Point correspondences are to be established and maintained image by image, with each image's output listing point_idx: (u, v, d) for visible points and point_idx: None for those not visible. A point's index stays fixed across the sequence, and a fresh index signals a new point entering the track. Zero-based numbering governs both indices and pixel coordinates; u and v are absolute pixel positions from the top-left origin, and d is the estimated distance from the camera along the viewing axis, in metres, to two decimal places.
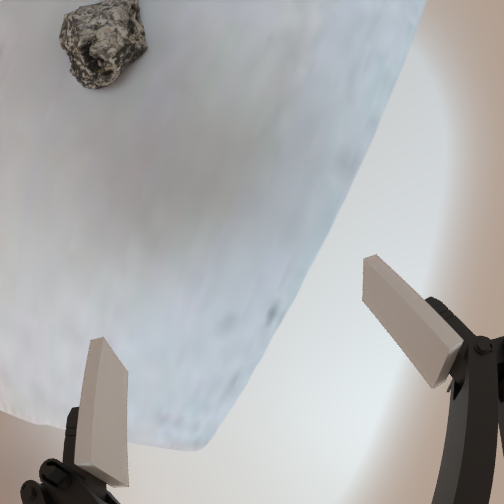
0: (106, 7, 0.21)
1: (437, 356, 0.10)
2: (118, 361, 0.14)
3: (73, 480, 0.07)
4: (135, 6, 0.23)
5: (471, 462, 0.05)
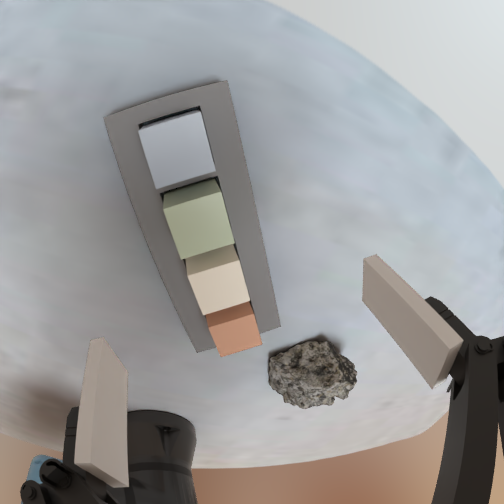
0: (296, 387, 0.38)
1: (437, 356, 0.10)
2: (118, 361, 0.14)
3: (73, 480, 0.07)
4: (293, 364, 0.38)
5: (471, 462, 0.05)
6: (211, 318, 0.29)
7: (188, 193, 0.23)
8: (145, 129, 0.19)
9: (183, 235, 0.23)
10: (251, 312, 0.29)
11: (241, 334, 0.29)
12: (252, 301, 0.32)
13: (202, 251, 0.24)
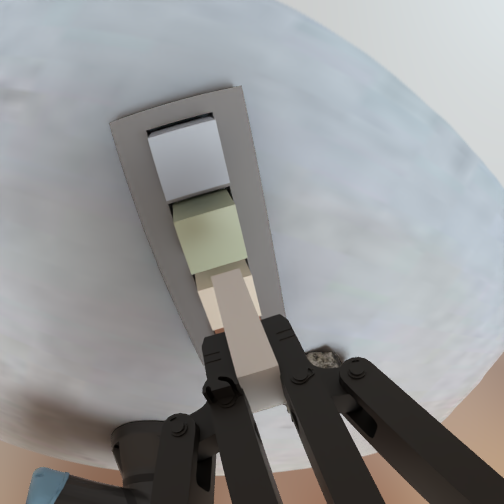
0: None
1: None
2: None
3: (238, 403, 0.09)
4: None
5: (345, 495, 0.06)
6: None
7: (199, 205, 0.22)
8: (155, 137, 0.18)
9: (194, 249, 0.22)
10: None
11: None
12: (261, 314, 0.31)
13: (214, 266, 0.23)
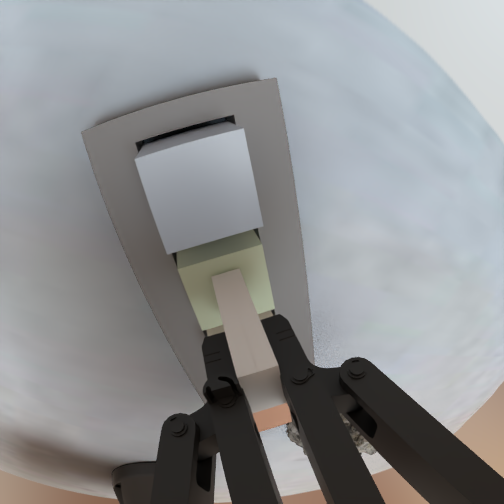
0: None
1: None
2: None
3: (238, 403, 0.09)
4: None
5: (345, 495, 0.06)
6: None
7: (212, 241, 0.17)
8: (147, 156, 0.11)
9: (206, 302, 0.17)
10: None
11: (276, 413, 0.22)
12: None
13: None
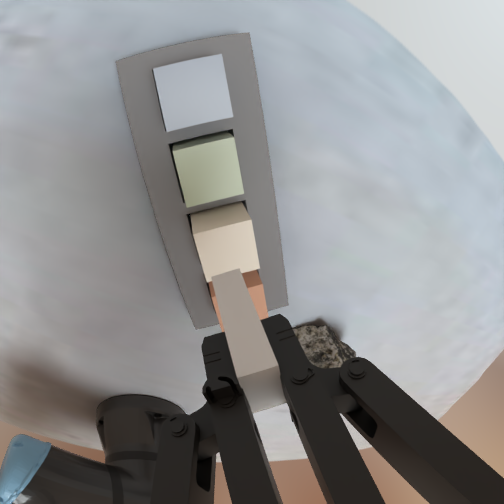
0: None
1: None
2: None
3: (238, 403, 0.09)
4: None
5: (345, 495, 0.06)
6: None
7: (199, 140, 0.22)
8: (161, 67, 0.16)
9: (191, 180, 0.22)
10: (260, 282, 0.26)
11: None
12: (260, 273, 0.29)
13: (209, 200, 0.23)
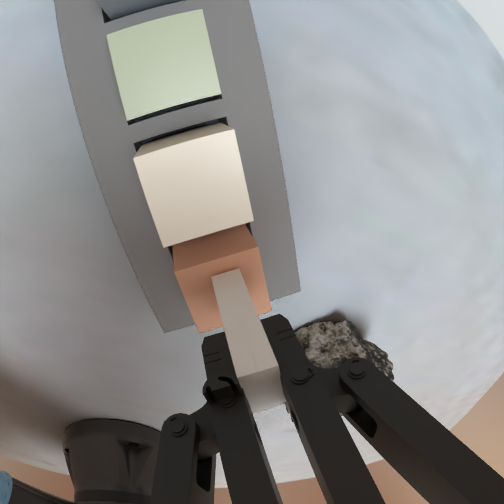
0: None
1: None
2: None
3: (237, 403, 0.09)
4: None
5: (345, 495, 0.06)
6: (181, 258, 0.16)
7: None
8: None
9: (134, 75, 0.11)
10: (253, 245, 0.16)
11: None
12: (255, 241, 0.19)
13: (164, 105, 0.12)
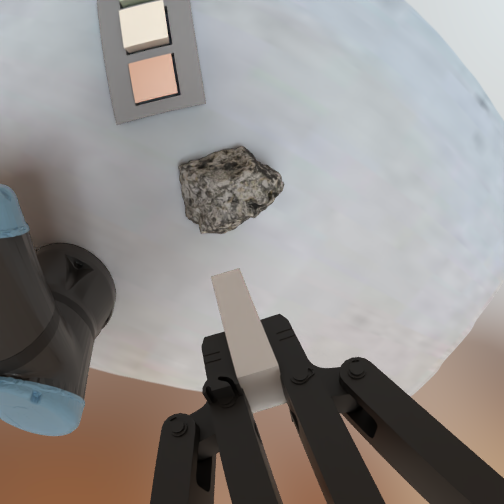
0: (204, 193, 0.33)
1: None
2: None
3: (237, 403, 0.09)
4: (200, 164, 0.33)
5: (345, 495, 0.06)
6: None
7: None
8: None
9: None
10: None
11: (157, 75, 0.26)
12: (177, 66, 0.28)
13: None
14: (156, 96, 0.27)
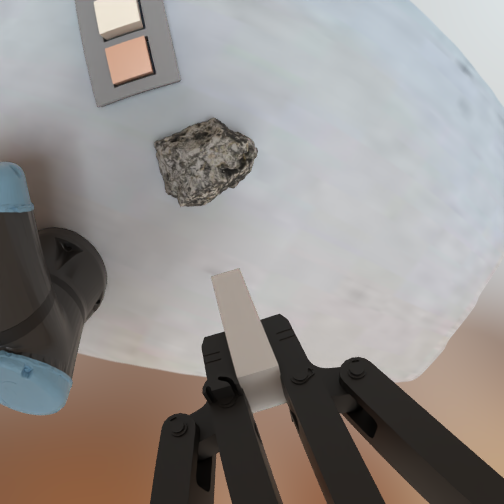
0: (178, 165, 0.33)
1: None
2: None
3: (238, 403, 0.09)
4: (172, 138, 0.33)
5: (345, 495, 0.06)
6: None
7: None
8: None
9: None
10: (142, 36, 0.25)
11: (132, 57, 0.26)
12: (151, 47, 0.27)
13: None
14: (132, 76, 0.27)
